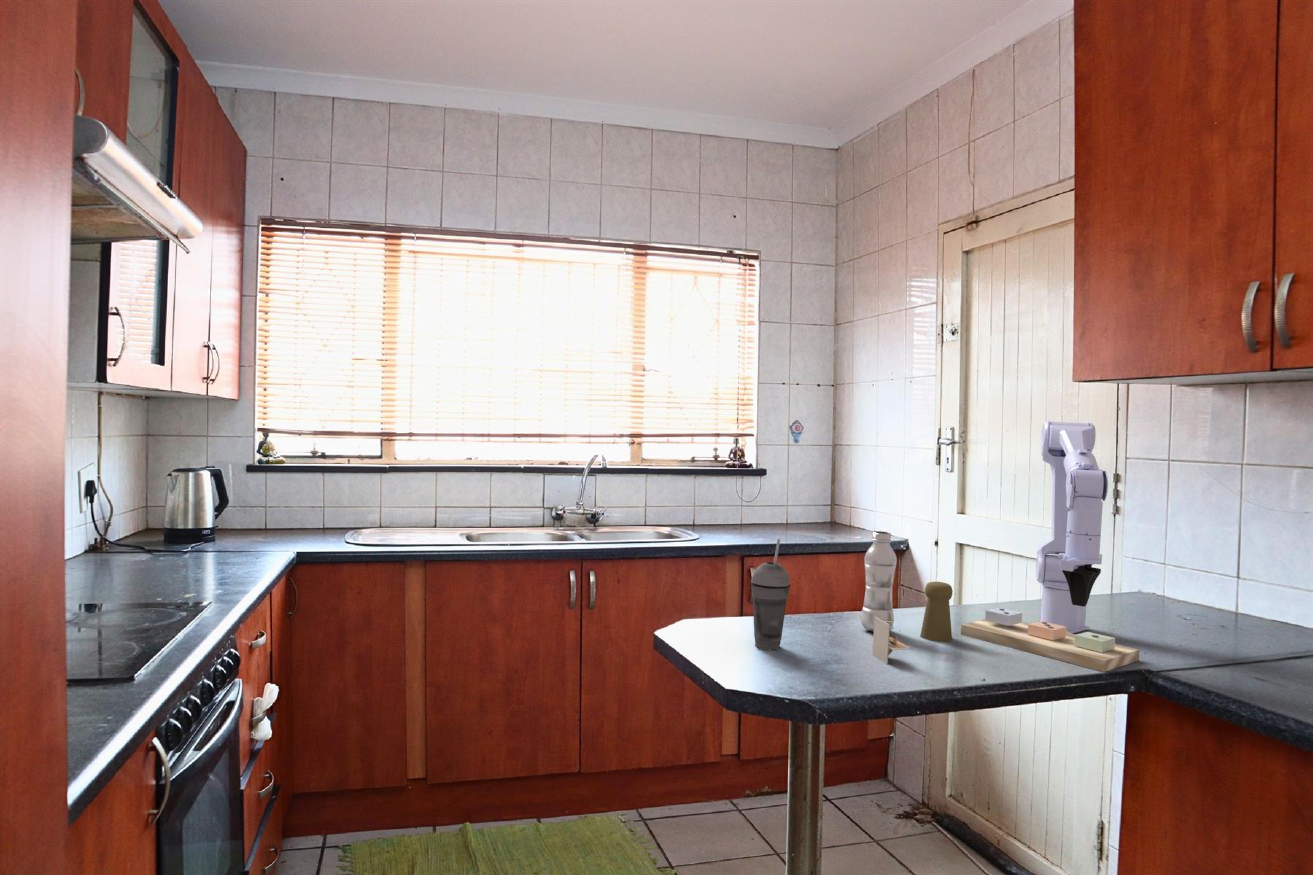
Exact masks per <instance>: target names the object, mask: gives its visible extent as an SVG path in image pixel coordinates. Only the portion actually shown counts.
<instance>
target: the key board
mask: <svg viewBox="0 0 1313 875" xmlns="http://www.w3.org/2000/svg"><path fill="white" fill-rule="evenodd" d="M1028 624H1030V622H1029V623H1028V622H1024V621H1022V623H1018V624H1014V625H1010V626H1007V625H1003V624H999V623H995V622H991V621H987V620H985V618H984V619H980V620H976V621H971V622H966V623H962V624H961V625H960V635H962V636H966V637H970V638H975V639H978V640H982V641H985V642H990V643H994V644H997V645H999V646H1000V645H1001V646H1005V647H1008V648H1012V649H1014V650H1019V651H1024V652H1026V653H1031V654H1034V655H1038V656H1042V657H1047V658H1049V659H1053V660H1057V661H1060V662H1066V663H1068V664H1073V665H1077V666H1080V667H1084V668H1088V669H1090V670H1095V671H1097V672H1098V671H1099V672H1102V673H1106V672H1108V671H1112V670H1114V669H1117V668H1122V667H1123V666H1126V665H1129V664H1132V663H1135V662H1139V661H1140V652H1141V649H1138V648H1134V647H1130V646H1125V645H1121V644H1117V643H1115V649H1112V650H1109V651H1106V652H1102V653H1101V652H1097V651H1093V650H1089V649H1085V648H1081V647H1077V646H1074V641H1075V635H1076V634H1075V633H1073V634H1071V633H1067V632H1066V637H1065V638H1061V639H1057V640H1049V639H1045V638H1041V637H1037V636H1033V635H1029V634H1028Z"/></svg>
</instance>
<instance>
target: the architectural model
mask: <svg viewBox="0 0 1313 875" xmlns="http://www.w3.org/2000/svg"><path fill="white" fill-rule="evenodd" d="M892 622H893V621H882V620H880V619H879V618H877V617H874V631H873V636H872V637H873V640H872V641H873V642H872V656H873V657H875V658H877V659H878V660H879V661H881V662H882V663H884V664H886V665H888V664H889V655H890V654H891V653H892V652H893V651H909V650H910V647H908V646H907V645H906V644H904V643H902V642H900V641H899V640H898V637H897V636H896V635H894V634H892V633H891V631H892V630H893V629H894V626H893V627H892V628H891V630H890V625H891V624H892ZM893 623H894V622H893Z"/></svg>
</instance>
